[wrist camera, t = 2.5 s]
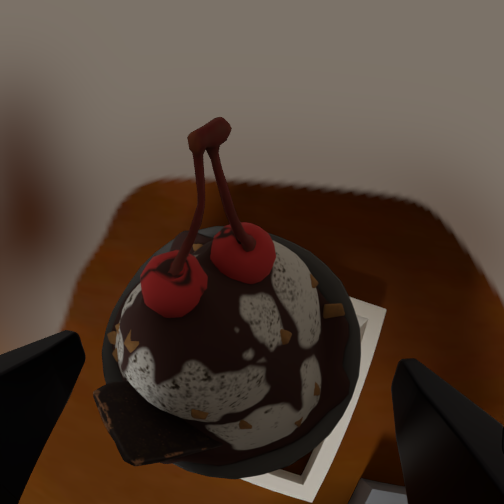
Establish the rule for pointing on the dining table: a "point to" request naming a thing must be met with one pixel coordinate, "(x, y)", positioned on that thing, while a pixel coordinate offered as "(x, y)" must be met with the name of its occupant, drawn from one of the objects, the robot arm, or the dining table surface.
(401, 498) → the tray
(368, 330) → the white square frame
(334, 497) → the dining table surface
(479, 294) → the dining table surface
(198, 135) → the sundae
